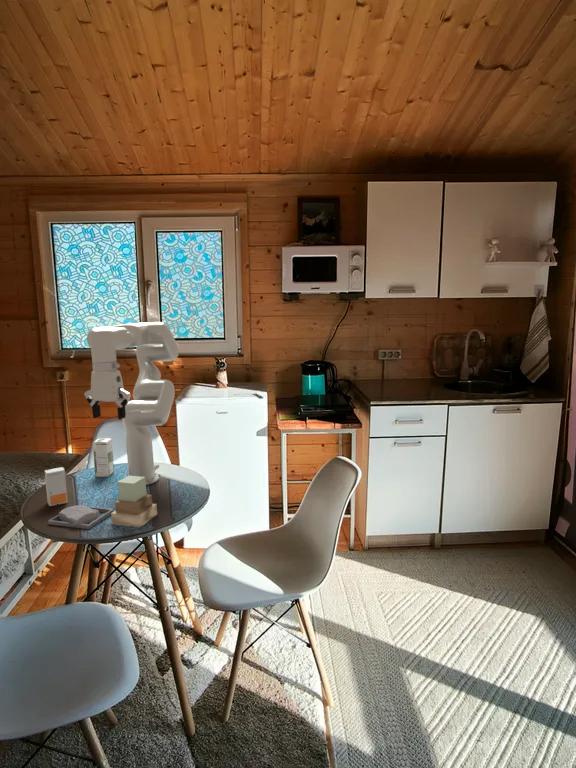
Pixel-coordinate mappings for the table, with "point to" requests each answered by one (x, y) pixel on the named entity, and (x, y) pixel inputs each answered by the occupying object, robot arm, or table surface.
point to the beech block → (134, 517)
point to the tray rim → (84, 526)
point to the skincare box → (56, 486)
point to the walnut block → (134, 505)
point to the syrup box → (103, 457)
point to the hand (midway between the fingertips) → (109, 417)
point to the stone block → (78, 515)
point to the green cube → (132, 488)
